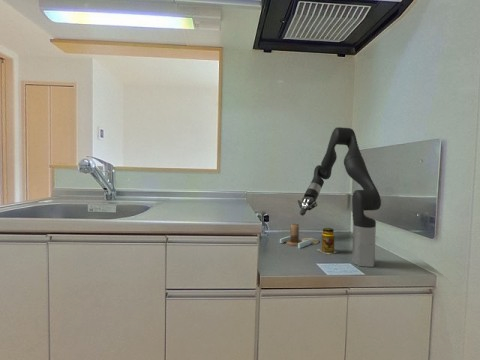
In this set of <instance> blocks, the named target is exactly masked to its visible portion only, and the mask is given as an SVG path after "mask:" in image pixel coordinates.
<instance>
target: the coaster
mask: <svg viewBox="0 0 480 360" xmlns="http://www.w3.org/2000/svg"><path fill="white" fill-rule="evenodd" d="M311 238H312V237H305V238H301V240H302V242H303V241H306V240H308V239H311ZM319 243H320V240H319V238H313V242H312V243H311V244H310V245H316V244H319Z"/></svg>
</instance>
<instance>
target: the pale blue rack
mask: <svg viewBox="0 0 480 360" xmlns="http://www.w3.org/2000/svg"><path fill="white" fill-rule="evenodd" d="M290 236H291V235H288V236H285V237H282V238H279V244H280V243H282V244H284V242H285V243H286V241H287V240H290ZM310 238H311V239H308V240H306V241H303V242H300V243H298V246H297V249H302V248H304V247H306V246H309V245H312V244H311V243H312V242H313V238H312V237H310ZM299 240H300V241H302V239H299Z"/></svg>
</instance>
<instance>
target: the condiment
mask: <svg viewBox="0 0 480 360" xmlns="http://www.w3.org/2000/svg"><path fill="white" fill-rule="evenodd" d="M334 232H335V231H334V229H333V228H332V227H323V229H322V233H321V248H319V249H316V251H317V252H321V253H323V254H326V255H333V254H336V253H338V251H337V250H335V233H334Z"/></svg>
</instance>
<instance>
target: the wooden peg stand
mask: <svg viewBox="0 0 480 360" xmlns="http://www.w3.org/2000/svg"><path fill="white" fill-rule="evenodd" d="M299 226H300V225H299V223H291V224H290V235H289V236H290V240H287V241H286V242H285V243H286V245H287V244H288V245H287V246H289V245H290V247H298V243H300V242H302V241H300V240H301V239H299V236H300V235H299V234H300V229H299V228H300V227H299Z"/></svg>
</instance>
